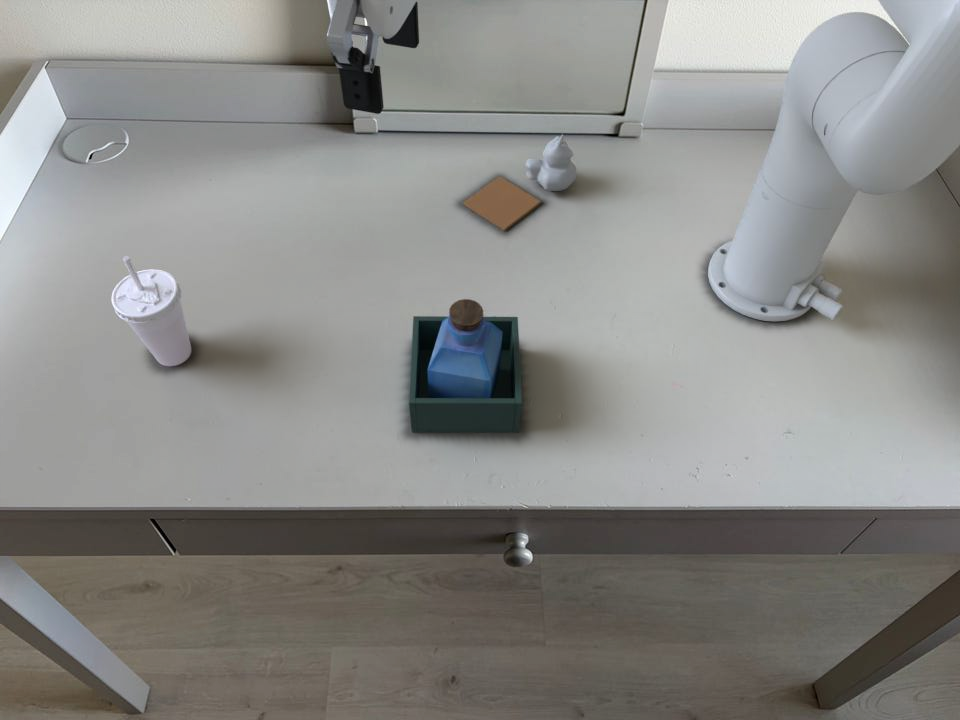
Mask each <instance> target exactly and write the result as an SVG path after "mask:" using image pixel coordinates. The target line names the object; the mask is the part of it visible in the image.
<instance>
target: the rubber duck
mask: <svg viewBox="0 0 960 720" xmlns="http://www.w3.org/2000/svg"><path fill="white" fill-rule="evenodd" d="M573 157H574V152H573V151H572V149H571V148H569V145H568V143H567V141H566V140H564V134H563V133H562V134H561V135H560V136H559V135H557V136H555V137H554V138H553V139H551V140H550V141H549V142H548V143H547V144H546V146H545V147H544V150H543V152H542V157H541V158H528V159H527V160H526V161H525V168H526V172H525V176H526V177H527V179H529V180H532V181H537V182H538V183H539V184H540V186H541V187H542V188H543V189H544V190H545V191H547V192H548V191H549V192H559V191H564V190H566V189H568V188H569V187H570V186H571V185H572V184H573V183H574V181H575V180H576V177H577V173H578V170H577V167H576V165H575V164H574V162H573V161H572V160H571V159H572V158H573Z"/></svg>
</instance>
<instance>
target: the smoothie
mask: <svg viewBox="0 0 960 720" xmlns="http://www.w3.org/2000/svg"><path fill="white" fill-rule="evenodd" d="M122 260H123V262H124V265H125V266H126V268H127V270H128V273H129V275H127V276H125V277H124V278H123V279H121V280H120V281H119V282H118V283H117V284H116V285H115V287H114V289H113V290H112V293H111V297H110V298H111V299H110V301H111V305H112V307H113V309H114V312H115V314H116V315H117V316H118V317H119V318H120V319H122V320H123V321H125V322H126V323H127V324H128V326H129V327H130V328H131V330H133V331H134V333H135V334H136V335H137V336H138V338H139V339H140V340H141V342H142V343H143V344H144V345H145V347H146V348H147V349H148V351H149V352H150V353H151V355H152V356H153V357H154V358H155V360H156V361H157V362H158V363H159V364H160V365H162V366H163V367H164V366H165V367H176V366H180V365H181V364H183V363H184V362H187V360H188V359H189V358H190V356H191V355H192V345H191V341H190V337H189V332H188V327H187V324H186V320H185V316H184V315H185V314H184V311H183V307H182V302H181V298H182V289H181V287H180V284H179V283H178V281H177V279H176V278H175V276H173V275H172V274H171V273H169V272H168V271H165V270H161V269H154V268H153V269H142V270H139V271H137V270H136V268H135V267H134V264H133V262H132V259H131V258H130V256H129V255H124V256H123V258H122Z"/></svg>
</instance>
